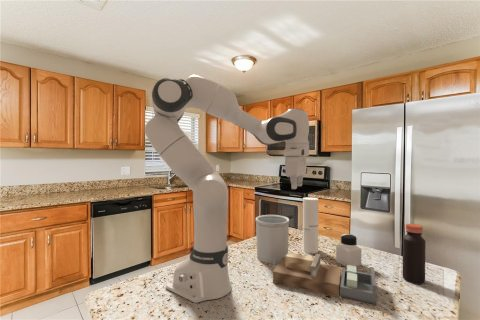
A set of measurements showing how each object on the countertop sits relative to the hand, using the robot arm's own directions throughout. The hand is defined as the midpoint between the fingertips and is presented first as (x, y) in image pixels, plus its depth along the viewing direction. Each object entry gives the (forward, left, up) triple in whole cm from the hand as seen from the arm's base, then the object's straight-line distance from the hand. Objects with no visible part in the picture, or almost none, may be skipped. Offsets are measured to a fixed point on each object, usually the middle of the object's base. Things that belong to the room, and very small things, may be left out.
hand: (296, 187), depth 96 cm
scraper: (+3, -4, -29) cm, 30 cm away
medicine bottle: (+18, +18, -33) cm, 42 cm away
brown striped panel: (+5, -4, -33) cm, 34 cm away
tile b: (+18, -1, -30) cm, 35 cm away
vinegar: (+40, +13, -33) cm, 54 cm away
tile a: (+18, -7, -30) cm, 36 cm away
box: (+21, -4, -33) cm, 40 cm away
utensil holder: (-13, +10, -33) cm, 37 cm away
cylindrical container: (+1, +26, -33) cm, 42 cm away
